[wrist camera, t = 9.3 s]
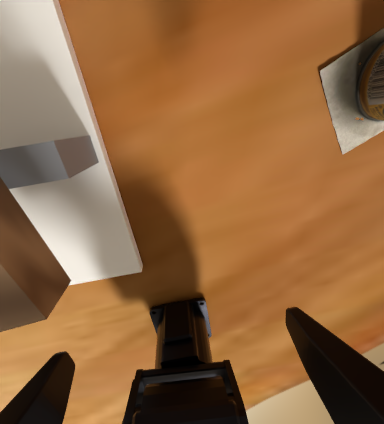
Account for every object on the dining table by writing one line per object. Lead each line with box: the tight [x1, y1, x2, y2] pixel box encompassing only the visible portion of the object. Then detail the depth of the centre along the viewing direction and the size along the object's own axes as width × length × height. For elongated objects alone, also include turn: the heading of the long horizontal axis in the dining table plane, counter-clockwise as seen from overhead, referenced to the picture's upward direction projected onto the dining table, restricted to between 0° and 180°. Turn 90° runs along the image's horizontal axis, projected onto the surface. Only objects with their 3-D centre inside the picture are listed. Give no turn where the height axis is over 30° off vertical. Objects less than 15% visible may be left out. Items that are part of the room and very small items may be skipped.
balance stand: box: [0, 0, 143, 285], centre depth 13 cm, size 24×11×6 cm, turn 9°
